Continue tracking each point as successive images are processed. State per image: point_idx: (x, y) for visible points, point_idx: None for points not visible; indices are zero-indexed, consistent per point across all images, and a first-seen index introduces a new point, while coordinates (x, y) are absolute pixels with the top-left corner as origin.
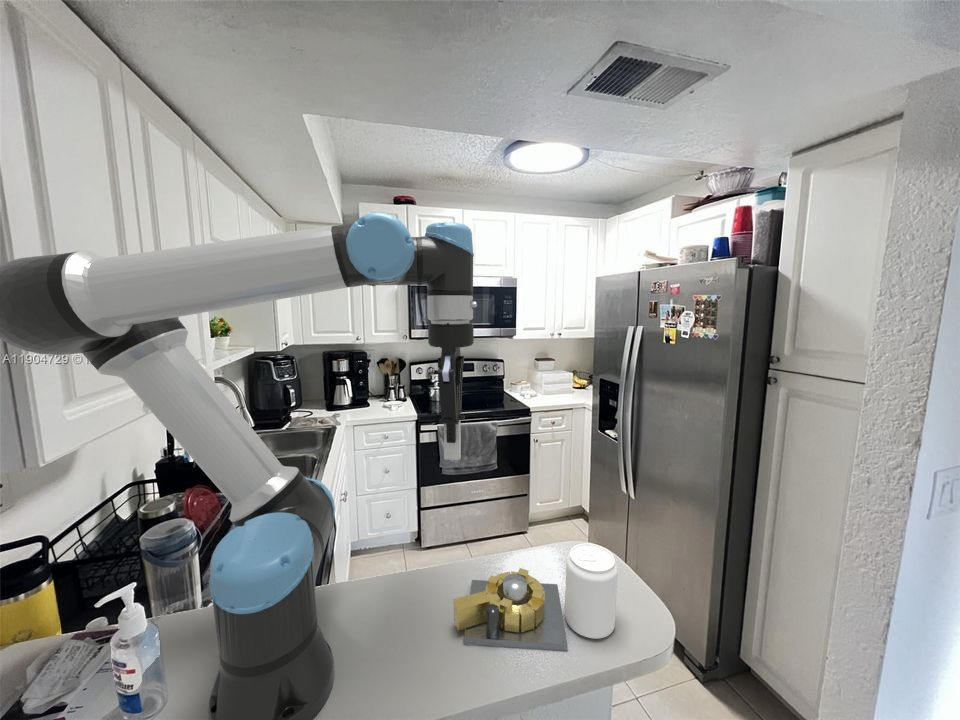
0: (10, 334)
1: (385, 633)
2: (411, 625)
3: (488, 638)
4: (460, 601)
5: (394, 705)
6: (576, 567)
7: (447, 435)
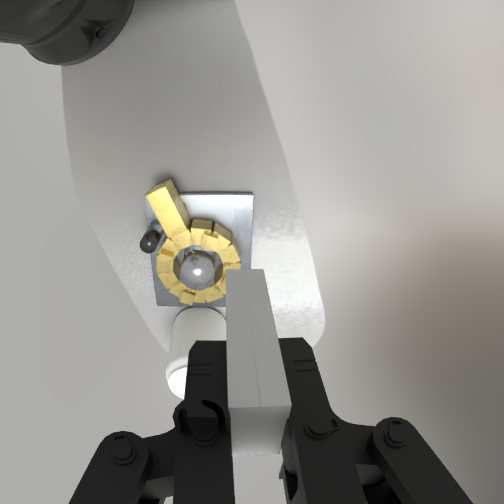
0: None
1: (154, 87)
2: (169, 117)
3: (148, 225)
4: (161, 197)
5: (71, 135)
6: (177, 367)
7: (187, 374)
